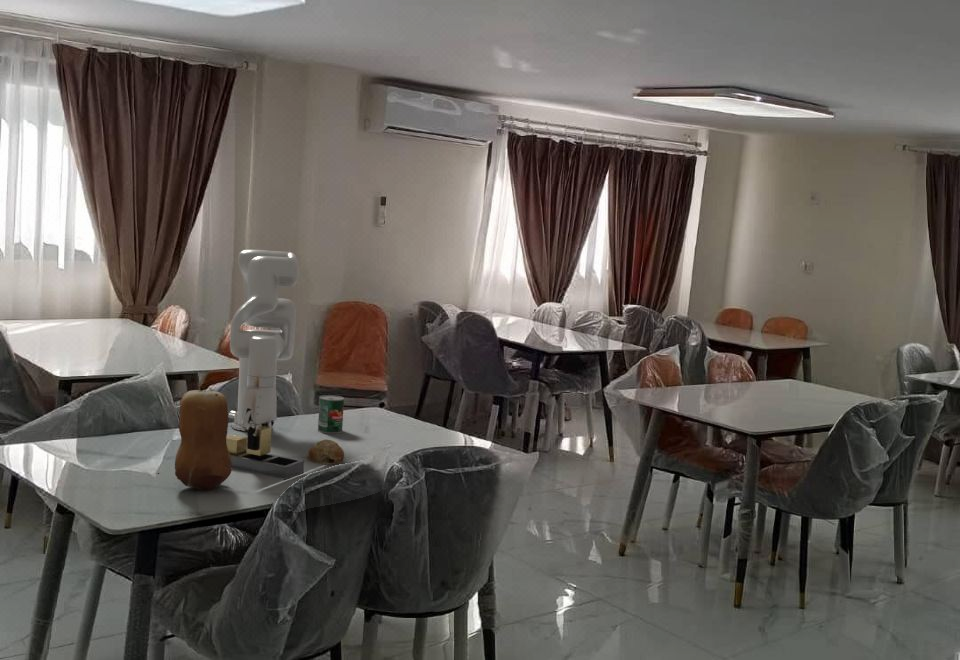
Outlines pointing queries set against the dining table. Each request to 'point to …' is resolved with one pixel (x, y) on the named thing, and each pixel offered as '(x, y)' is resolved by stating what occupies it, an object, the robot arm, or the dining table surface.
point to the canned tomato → (330, 414)
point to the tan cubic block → (262, 441)
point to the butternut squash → (203, 440)
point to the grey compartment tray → (269, 464)
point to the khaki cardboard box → (236, 445)
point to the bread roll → (326, 453)
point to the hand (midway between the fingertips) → (258, 447)
